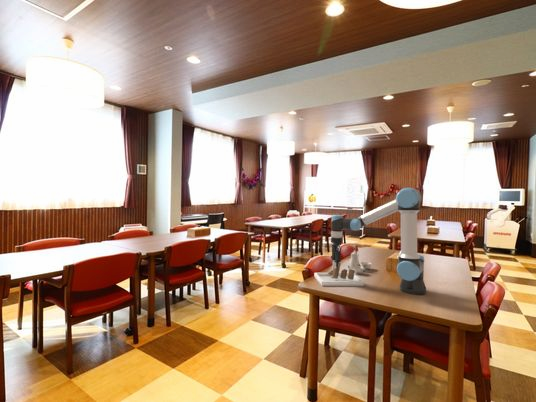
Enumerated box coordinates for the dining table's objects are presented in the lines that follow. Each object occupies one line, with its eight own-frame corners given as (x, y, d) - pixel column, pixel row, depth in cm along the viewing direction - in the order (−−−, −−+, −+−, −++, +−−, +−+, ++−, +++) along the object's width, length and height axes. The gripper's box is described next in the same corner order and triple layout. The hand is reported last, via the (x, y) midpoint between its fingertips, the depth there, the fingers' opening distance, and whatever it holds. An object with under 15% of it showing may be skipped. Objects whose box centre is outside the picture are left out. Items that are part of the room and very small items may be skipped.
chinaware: (363, 279, 200) (366, 257, 199) (341, 272, 210) (344, 251, 209) (372, 270, 224) (375, 251, 222) (352, 265, 233) (354, 246, 232)
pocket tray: (364, 286, 179) (364, 281, 179) (321, 286, 177) (321, 281, 177) (352, 276, 200) (352, 272, 199) (314, 276, 198) (314, 272, 198)
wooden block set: (353, 282, 185) (356, 267, 188) (349, 280, 178) (352, 265, 181) (328, 276, 195) (331, 262, 198) (324, 274, 189) (327, 260, 192)
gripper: (327, 235, 197) (326, 267, 197) (335, 239, 180) (334, 274, 180) (337, 235, 197) (337, 267, 198) (346, 239, 181) (345, 274, 181)
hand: (335, 270), depth 189 cm, fingers closed on wooden block set, 4 cm apart
